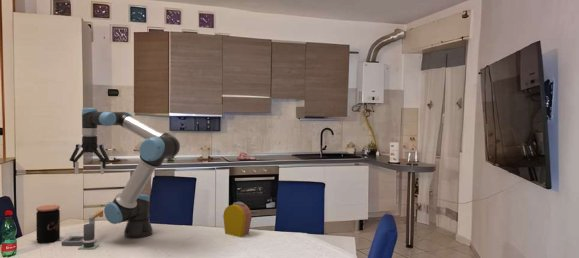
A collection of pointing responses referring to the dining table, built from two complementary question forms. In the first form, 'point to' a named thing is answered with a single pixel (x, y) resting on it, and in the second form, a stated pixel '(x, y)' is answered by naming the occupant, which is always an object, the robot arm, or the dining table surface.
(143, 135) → the robot arm
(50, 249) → the dining table surface
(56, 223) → the coffee jar
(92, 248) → the mat
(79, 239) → the socket
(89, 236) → the plug
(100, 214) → the clip
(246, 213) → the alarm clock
